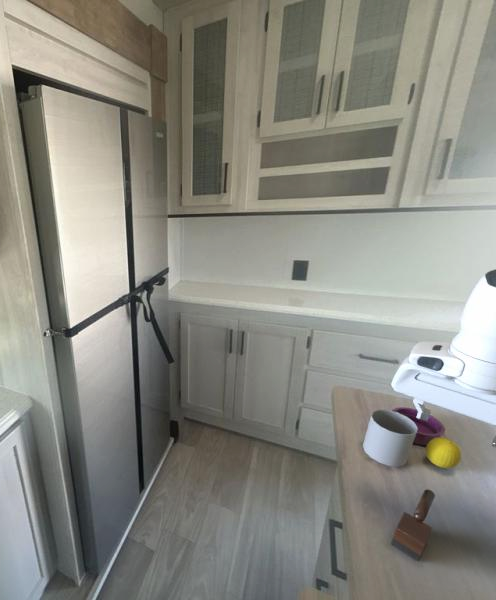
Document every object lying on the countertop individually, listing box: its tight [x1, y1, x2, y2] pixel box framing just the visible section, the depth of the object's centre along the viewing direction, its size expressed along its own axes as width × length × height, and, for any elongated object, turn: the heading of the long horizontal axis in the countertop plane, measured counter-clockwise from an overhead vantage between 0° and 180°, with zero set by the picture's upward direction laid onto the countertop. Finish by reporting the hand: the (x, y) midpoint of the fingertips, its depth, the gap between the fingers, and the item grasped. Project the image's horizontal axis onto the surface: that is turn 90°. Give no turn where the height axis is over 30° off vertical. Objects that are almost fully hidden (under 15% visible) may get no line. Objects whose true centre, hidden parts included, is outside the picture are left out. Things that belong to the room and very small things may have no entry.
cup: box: [362, 409, 418, 468], centre depth 80 cm, size 8×8×10 cm
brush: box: [390, 488, 436, 561], centre depth 65 cm, size 14×4×6 cm, turn 127°
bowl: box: [391, 406, 446, 447], centre depth 86 cm, size 10×10×4 cm
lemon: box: [425, 437, 462, 469], centre depth 76 cm, size 6×6×8 cm
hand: (458, 431), depth 59 cm, fingers open, 8 cm apart
